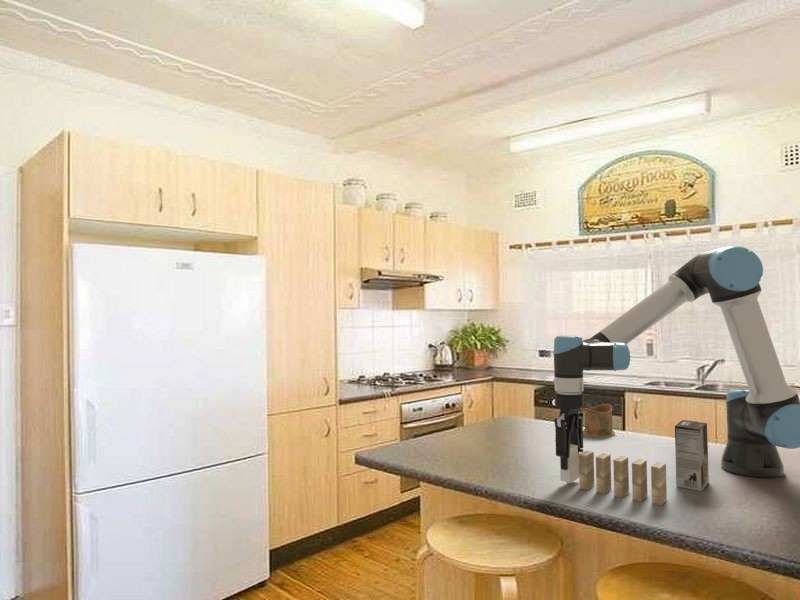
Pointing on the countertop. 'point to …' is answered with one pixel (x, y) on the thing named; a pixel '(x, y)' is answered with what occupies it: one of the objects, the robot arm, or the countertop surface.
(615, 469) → the domino
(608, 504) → the countertop surface
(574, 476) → the domino
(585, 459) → the domino
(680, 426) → the coffee box
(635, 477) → the domino
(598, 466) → the domino
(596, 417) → the mug
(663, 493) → the domino
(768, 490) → the countertop surface
